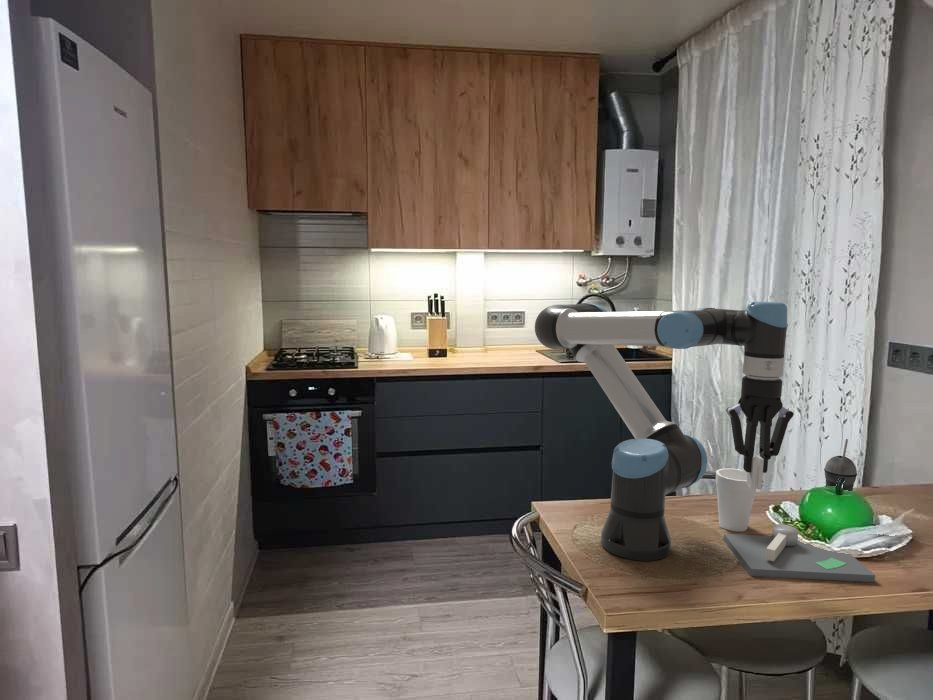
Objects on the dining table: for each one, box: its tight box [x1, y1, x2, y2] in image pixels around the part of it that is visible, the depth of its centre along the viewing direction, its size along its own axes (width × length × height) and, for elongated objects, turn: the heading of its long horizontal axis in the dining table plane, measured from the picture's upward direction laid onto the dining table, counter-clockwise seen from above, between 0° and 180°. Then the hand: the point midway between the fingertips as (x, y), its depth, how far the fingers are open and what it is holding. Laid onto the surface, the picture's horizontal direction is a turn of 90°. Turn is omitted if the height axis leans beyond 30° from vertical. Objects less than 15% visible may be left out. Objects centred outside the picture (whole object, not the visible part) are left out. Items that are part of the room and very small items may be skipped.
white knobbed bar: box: [766, 523, 799, 561], centre depth 134 cm, size 15×5×3 cm, turn 140°
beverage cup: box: [823, 438, 858, 492], centre depth 157 cm, size 7×7×20 cm
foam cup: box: [715, 467, 758, 532], centre depth 150 cm, size 10×9×13 cm
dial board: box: [722, 533, 876, 583], centre depth 133 cm, size 24×17×2 cm
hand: (753, 486), depth 130 cm, fingers closed
